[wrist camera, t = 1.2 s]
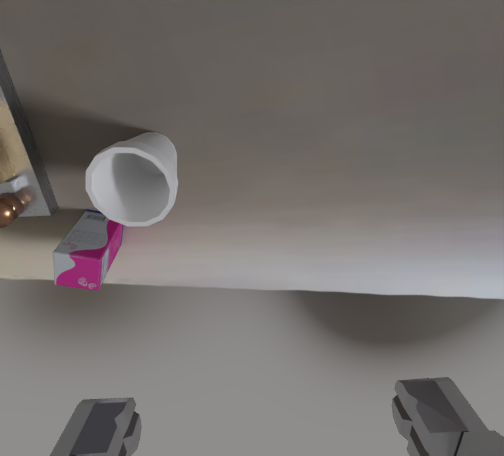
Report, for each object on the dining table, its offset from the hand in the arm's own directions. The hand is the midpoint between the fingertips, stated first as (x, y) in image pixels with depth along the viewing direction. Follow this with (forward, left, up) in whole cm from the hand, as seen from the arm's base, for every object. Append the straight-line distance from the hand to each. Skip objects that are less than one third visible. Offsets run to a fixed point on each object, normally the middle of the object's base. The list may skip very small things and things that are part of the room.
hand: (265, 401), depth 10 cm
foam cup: (+4, -12, -40) cm, 41 cm away
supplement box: (+16, -22, -40) cm, 48 cm away
